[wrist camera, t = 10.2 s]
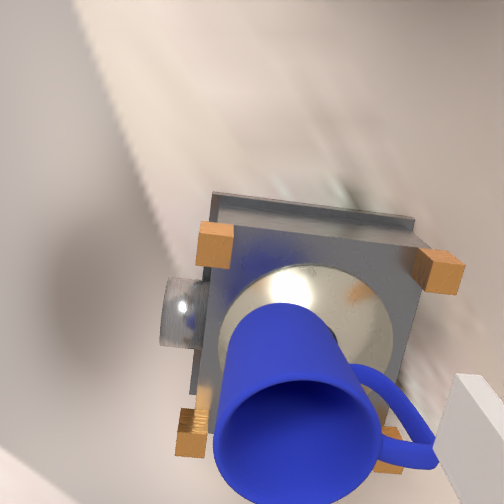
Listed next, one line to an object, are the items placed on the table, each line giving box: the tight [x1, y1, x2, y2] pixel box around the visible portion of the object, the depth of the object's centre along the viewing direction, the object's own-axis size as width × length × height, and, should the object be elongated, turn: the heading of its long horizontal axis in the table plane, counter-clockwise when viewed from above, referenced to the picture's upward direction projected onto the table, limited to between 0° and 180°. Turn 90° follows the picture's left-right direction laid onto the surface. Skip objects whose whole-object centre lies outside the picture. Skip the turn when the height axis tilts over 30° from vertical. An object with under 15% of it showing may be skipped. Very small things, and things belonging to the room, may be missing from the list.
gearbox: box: [160, 192, 465, 474], centre depth 35 cm, size 17×18×8 cm
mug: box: [213, 302, 439, 504], centre depth 28 cm, size 8×12×10 cm
